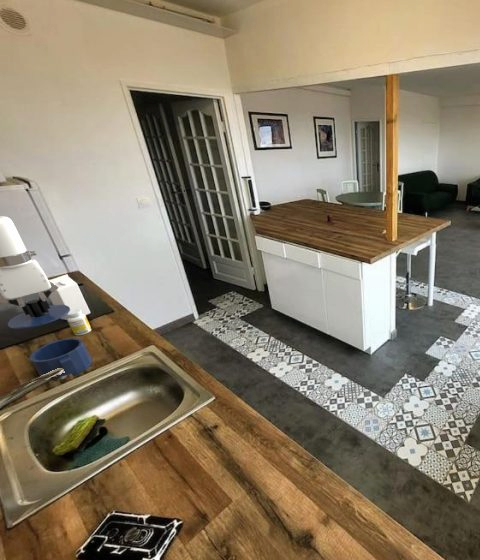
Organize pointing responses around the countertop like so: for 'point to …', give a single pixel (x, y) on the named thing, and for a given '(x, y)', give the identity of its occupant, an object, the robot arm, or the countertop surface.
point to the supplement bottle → (78, 322)
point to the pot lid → (38, 315)
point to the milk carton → (68, 295)
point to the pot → (62, 357)
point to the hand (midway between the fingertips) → (39, 313)
